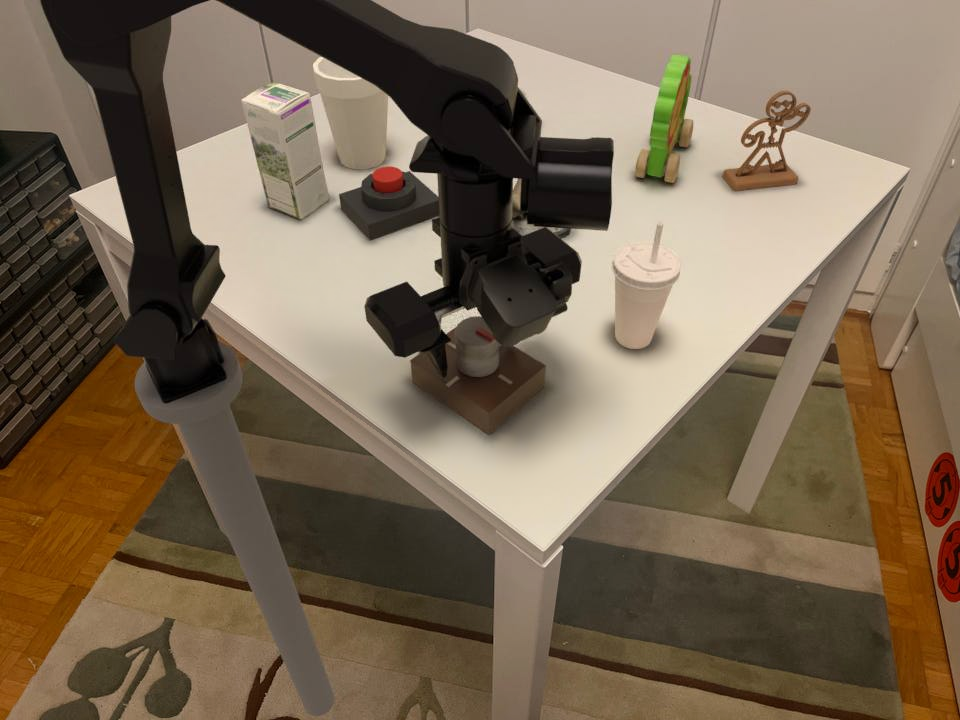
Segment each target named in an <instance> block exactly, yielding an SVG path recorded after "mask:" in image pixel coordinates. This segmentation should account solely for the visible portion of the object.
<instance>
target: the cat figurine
mask: <svg viewBox="0 0 960 720" xmlns="http://www.w3.org/2000/svg"><path fill="white" fill-rule="evenodd" d="M520 196H521V179H517V180H516V183H515V184H514V185H513V204H512V228H513V229H515V230H516V231H517V232H518V233H519V234H521V236H524V235H526V234H529V233H531V232H534V231H536V230H539V229H541V228H544V227H536V226H534V225H533V224H527V212H520ZM546 228H548V229H549V230H551V231H552V232H553V233H554V234H556V235H557V236H558V237H559V238H561V239H562V238H564V237H567V236H568V235H569V234H571V229H568V228H552V227H546Z"/></svg>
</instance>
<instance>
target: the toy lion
mask: <svg viewBox="0 0 960 720" xmlns="http://www.w3.org/2000/svg"><path fill="white" fill-rule="evenodd" d="M691 63H692V58H691V57H690V56H687V55H682V54H681V55H680V54H671V55H670V58H669V60H668V64H667V65H666V67H665V70H664V74H663V77H662V79H661V83H660V85H659V89H658V94H657V98H656V101H655V104H654V109H653V115H652V121H651V127H650V131H649V146H650V149H645V148H642V149H641V150H640V152H639V154H638V157H637V160H636V163H635V173H634V174H635V177H636V178H642V179H644V178H645V177H646V176H647V175H648V176H652V177H655V178H656V177H657V178H663V177H664V182H665V183H671V184H674V183H675V181H676V179H677V177H678V173H679V169H680V163H681V161H680V160H681V155H680V154H679V153H672V151H673V149H674V147H675V145H676V143H678V146H679V147H680V148H681V147H682V148H688V147H689V145H690V143H691V140H692V137H693V132H694V119H692V118H685V116H686V112H687V111H686V110H687V106H688V102H689V97H690V91H691V86H692V74H691Z"/></svg>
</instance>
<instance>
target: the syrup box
mask: <svg viewBox="0 0 960 720" xmlns="http://www.w3.org/2000/svg"><path fill="white" fill-rule="evenodd" d="M240 100H241V105H242V108H243V112H244V117H245V120H246V125H247V129H248V132H249V136H250V140H251V144H252V147H253V152H254V156H255V161H256V163H257V169H258V172H259V176H260V179H261V184H262V188H263V191H264V195H265V200H266V203H267V207H268V208H270V209H273V210H275V211H278V212H281V213H283V214H285V215H288V216H290V217H293V218H295V219H298V220H303V219H304V218H306V217H308V216H309V215H311V214H312V213H313V212H315V211H317V210H318V209H319V208H320V207H322V206H323V205H324V204H326V203H327V202H328V201H329V200H330V194H329V190H328V185H327V180H326V175H325V169H324V164H323V159H322V158H323V157H322V154H321V153H322V152H321V147H320V143H319V136H318V130H317V124H316V120H315V114H314V109H313V103H312V98H311V94H310V92H308V91H304V90H301V89H298V88H295V87H292V86H288V85H285V84H282V83H279V82H275V81H274V82H270V83H268V84H266V85H263V86H262V87H259V88H258V89H256V90H254V91H252V92H251V93H249V94H247V96H244V97H243V98H241V99H240Z"/></svg>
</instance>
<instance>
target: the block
mask: <svg viewBox="0 0 960 720" xmlns="http://www.w3.org/2000/svg"><path fill="white" fill-rule="evenodd" d="M401 171H402V176H403V188H402V189H401V190H400V191H397V192H394V193H380V192H376V191H375V189H374V186H373V178H372V174H373V172H372V173H370V174H368V175H367V176H366V177H364V179H362V181H361V184H360V186H359V187H356V188H353V189H349V190H347V191H344V192H341V193H339V194H338V198H339V204H340V210H341V211H342V212H343V213H344V214H345V215H346V216H347V217H348V218H349V219H350V221H351V222H352V223H353V224H354V225H355V226H356V227H357V228H358V229H359V230H360V231H361V233H362V234H364V236H365V237H366V238H367V239H368V240H369V241H372V240H375V239H378V238H380V237H383V236H386V235H388V234H391V233H394V232H396V231H400V230H402V229H405V228H408V227H411V226H413V225H416V224H419V223H422V222H425V221H427V220H430V219H434V218H437V217H439V197H438V195H437V194H436V193H435V192H433V190H432V189H430V187H428V186H427V185H426V184H425V183H424V182H423V181H422V180H420V179H419V178H418V177H417V176H416V175H415V174H414V173H413V172H412V171H411V170H407V171H403V170H401Z"/></svg>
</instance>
